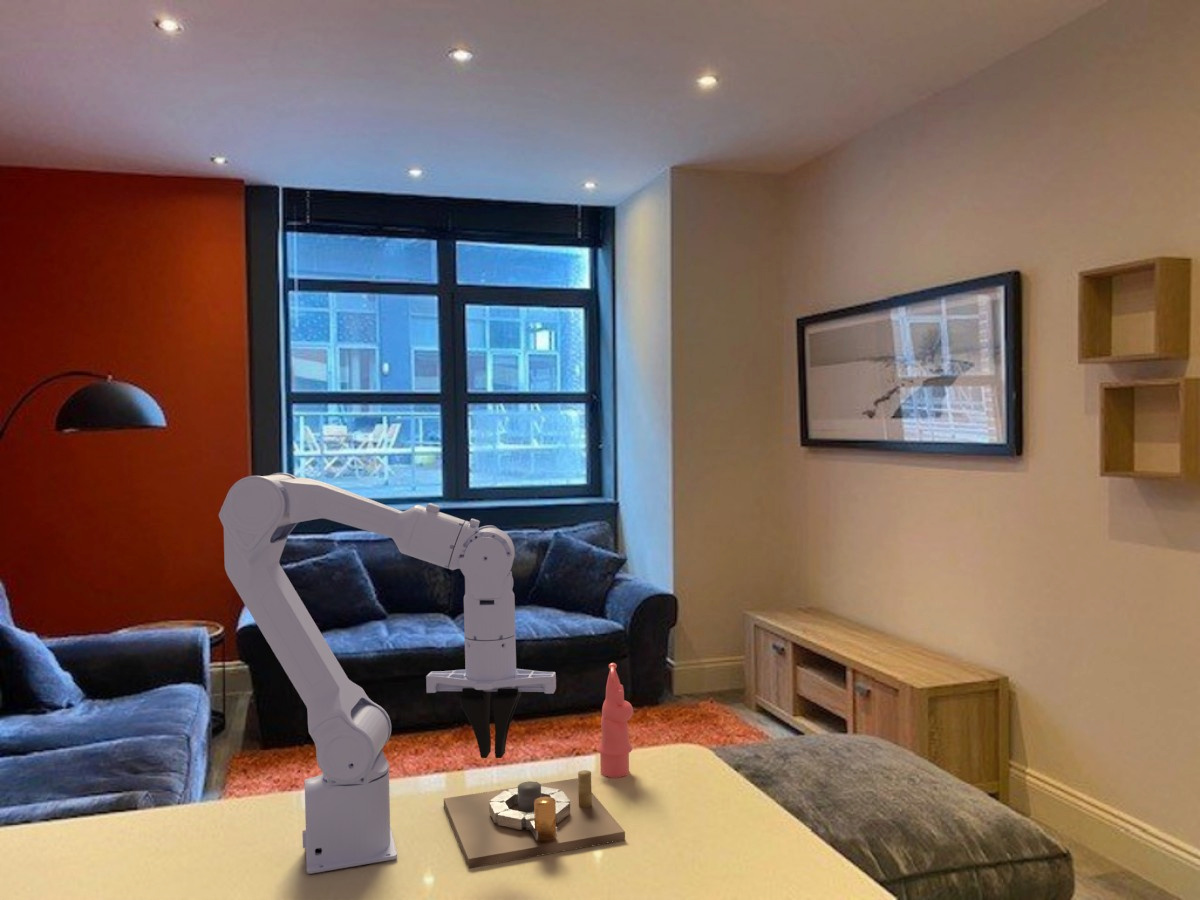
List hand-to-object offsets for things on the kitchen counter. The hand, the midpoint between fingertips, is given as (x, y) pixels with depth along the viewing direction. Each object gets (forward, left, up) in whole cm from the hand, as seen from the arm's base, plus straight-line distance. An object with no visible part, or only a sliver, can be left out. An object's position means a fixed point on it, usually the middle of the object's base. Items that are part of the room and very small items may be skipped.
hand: (493, 755), depth 99 cm
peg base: (+5, +5, -10) cm, 12 cm away
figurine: (+20, +16, -11) cm, 28 cm away
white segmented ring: (+5, +3, -9) cm, 11 cm away
